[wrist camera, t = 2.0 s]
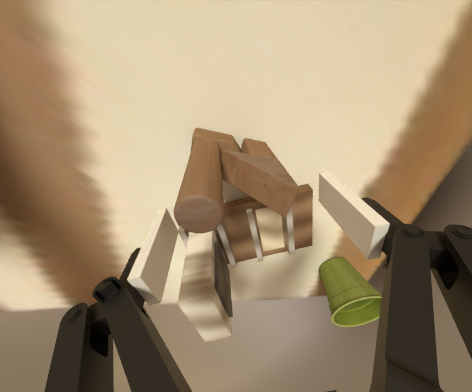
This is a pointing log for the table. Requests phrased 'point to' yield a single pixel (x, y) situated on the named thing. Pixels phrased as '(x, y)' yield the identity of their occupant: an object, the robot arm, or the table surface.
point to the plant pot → (349, 294)
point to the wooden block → (229, 179)
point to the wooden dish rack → (236, 256)
